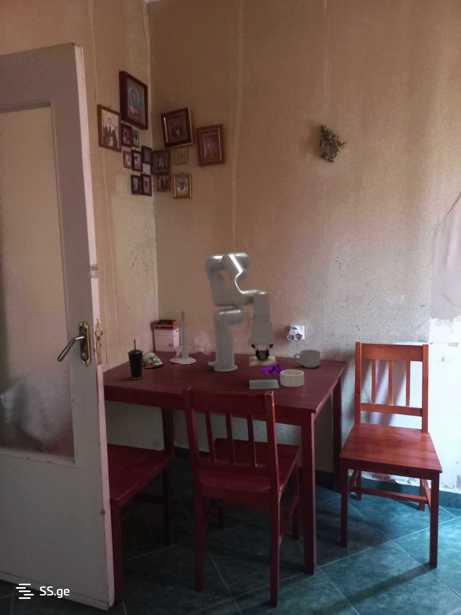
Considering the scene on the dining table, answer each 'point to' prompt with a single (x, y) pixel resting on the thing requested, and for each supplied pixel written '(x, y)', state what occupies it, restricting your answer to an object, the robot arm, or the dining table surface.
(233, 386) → the dining table surface
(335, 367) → the dining table surface
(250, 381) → the mat
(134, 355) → the drinking cup
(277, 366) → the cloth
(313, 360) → the teacup
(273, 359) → the lid
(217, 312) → the robot arm
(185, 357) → the candlestick
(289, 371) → the bowl
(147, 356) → the skull
